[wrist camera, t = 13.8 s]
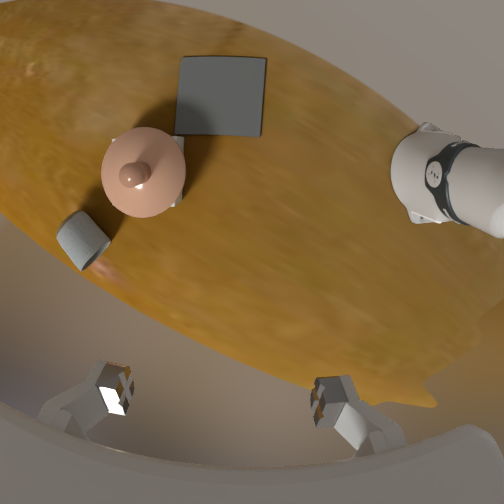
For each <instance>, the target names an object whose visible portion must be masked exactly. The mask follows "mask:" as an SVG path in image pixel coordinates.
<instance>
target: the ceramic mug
mask: <svg viewBox="0 0 504 504" xmlns="http://www.w3.org/2000/svg"><path fill="white" fill-rule="evenodd" d="M56 238H57V240H58V242H59V244H60V245H61V247H62V248H63V249H64V251H65V252H66V253H67V254H68V256H69V257H70V259H71V260H72V261H73V262H74V264H75V265H76V266H77V268H78V269H79V270H80V271H83V270H85V269H86V268H87V267H88V266H90V265H91V264H92V263H93V262H94V261H95V260H96V259H97V258H98V257H99V256H100V255H101V254H102V252H103V251H104V250H105V249H106V248H107V247H108V245H109V244H110V242H111V240H110V239H109V238H108V237H107V236H106V235H105V234H104V232H103V231H102V230H101V229H100V228H99V227H98V226H97V225H96V224H95V222H94V221H93V220H92V219H91V218H90V216H89V215H88V214H86V213H85V212H84V211H76V212H74V213H72V214H71V215H70V216H68V217H67V218H66V219H65V220H64V221H63V222H62V224H61V225H60V226H59V228H58V230H57V233H56Z"/></svg>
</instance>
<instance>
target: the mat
mask: <svg viewBox="0 0 504 504" xmlns="http://www.w3.org/2000/svg"><path fill="white" fill-rule="evenodd" d="M265 61H266V59H261V58H246V57H182V58H181V66H180V75H179V84H178V95H177V106H176V120H175V134H206V135H235V136H252V137H260V128H261V115H262V102H263V88H264V75H265Z"/></svg>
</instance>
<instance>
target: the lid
mask: <svg viewBox="0 0 504 504" xmlns="http://www.w3.org/2000/svg"><path fill="white" fill-rule="evenodd" d="M101 176H102V184H103V187H104V190H105V193H106V195H107V197H108V198H109V200H110V201H111V203H112V204H113V205H114V206H115V207H116V208H117V209H119V210H120V211H121V212H123V213H125V214H127V215H130V216H134V217H140V218H143V217H151V216H155V215H158V214H160V213H162V212H163V211H165V210H166V209H168V208H169V207H170V206H171V205H172V204H173V203H174V202H175V201H176V200H177V198H178V197H179V195H180V193H181V191H182V189H183V187H184V184H185V179H186V162H185V158H184V154H183V152H182V150H181V148H180V146H179V145H178V143H177V142H176V141H175V140H174V139H173V138H172V137H171V136H170V135H169V134H167V133H166V132H164V131H162V130H159V129H156V128H151V127H138V128H134V129H130V130H128V131H126V132H124V133H123V134H121V135H120V136H119V137H117V138H116V139H115V140H114V141H113V142H112V144H111V145H110V146H109V148H108V150H107V152H106V154H105V156H104V159H103V163H102V171H101Z"/></svg>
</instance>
